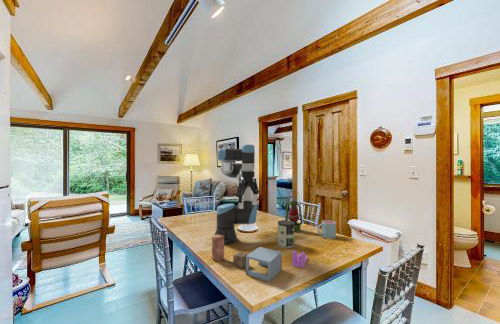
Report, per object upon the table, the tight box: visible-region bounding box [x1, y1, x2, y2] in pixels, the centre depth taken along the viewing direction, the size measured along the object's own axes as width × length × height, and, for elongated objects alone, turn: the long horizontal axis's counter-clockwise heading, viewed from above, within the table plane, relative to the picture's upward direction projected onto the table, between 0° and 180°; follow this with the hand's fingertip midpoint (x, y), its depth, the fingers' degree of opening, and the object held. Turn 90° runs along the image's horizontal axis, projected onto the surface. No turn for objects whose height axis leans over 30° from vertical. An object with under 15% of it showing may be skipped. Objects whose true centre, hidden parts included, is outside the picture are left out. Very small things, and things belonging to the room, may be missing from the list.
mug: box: [317, 219, 337, 240], centre depth 156 cm, size 14×9×10 cm
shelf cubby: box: [245, 246, 283, 282], centre depth 106 cm, size 12×13×8 cm
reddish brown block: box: [211, 234, 248, 269], centre depth 116 cm, size 19×5×12 cm, turn 59°
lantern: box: [284, 190, 304, 234], centre depth 170 cm, size 14×11×30 cm
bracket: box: [291, 249, 308, 269], centre depth 117 cm, size 13×6×7 cm, turn 155°
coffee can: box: [277, 219, 295, 249], centre depth 140 cm, size 10×10×14 cm
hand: (247, 206), depth 134 cm, fingers open, 13 cm apart
